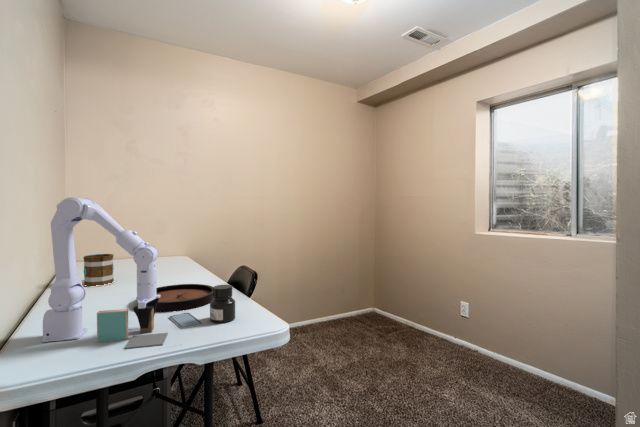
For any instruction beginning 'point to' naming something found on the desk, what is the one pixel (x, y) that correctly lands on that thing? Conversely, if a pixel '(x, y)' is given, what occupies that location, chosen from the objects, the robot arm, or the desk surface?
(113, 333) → the clay tile
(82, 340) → the desk surface
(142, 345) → the mat
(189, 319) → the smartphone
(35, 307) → the desk surface
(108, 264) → the mug
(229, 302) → the ink bottle
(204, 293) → the wall clock
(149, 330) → the block
